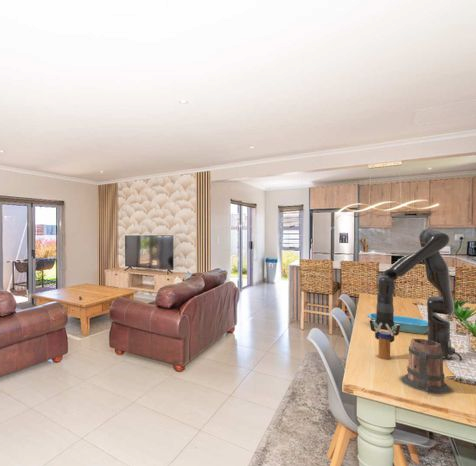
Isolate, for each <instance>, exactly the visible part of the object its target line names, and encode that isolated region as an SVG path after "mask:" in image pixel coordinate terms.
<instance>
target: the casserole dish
mask: <svg viewBox="0 0 476 466" xmlns="http://www.w3.org/2000/svg"><path fill="white" fill-rule="evenodd" d="M376 313H377V312H371V313H367V314H366V317H368V318H370V320H376ZM393 321H394V323H395V324H400V325H401V327H400V331H399V332H403V333H409V334H419V335H424V334H427V333H428V319H424V318H417V317H412V316H411V317H409V316H402V315H395V314H394V318H393ZM374 327H376V328H377V327H378V325H377V323H376V322H375V324H374ZM392 329H393V331H396V328H395V326H393V327H392ZM389 330H390V329H389Z"/></svg>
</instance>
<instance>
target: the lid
mask: <svg viewBox="0 0 476 466" xmlns="http://www.w3.org/2000/svg"><path fill="white" fill-rule="evenodd" d="M378 336H379V337H381V338H385V339H390V336H391V334H390V332H389V331H383V330H382V331H380V330H379V332H378Z"/></svg>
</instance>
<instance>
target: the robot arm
mask: <svg viewBox="0 0 476 466" xmlns="http://www.w3.org/2000/svg"><path fill="white" fill-rule="evenodd" d="M418 240H419V244H420V248H419V249H418V250H416V251H414V252H412V253H409V254H407V255H405V256H403V257H401V258H400V259H398V260H397V261H396V262H394V263H393V264H392V265H391V266H390V267H388V268H387V269H386V270H384V271H383V272H382V273H380V274H379V275H377V277H376V280H375V281H376V284H377V285H378V292H377V294H376V312H375V313H376V320H371V319H370V320H369V326H370V330H371V332H374V337H375V339H376V340H379V336H378V332H379V331H380V330H381V329H383V330H387V332H389V333H390V334H391V336H390V343H393V342H395V337H397V336H399V334H400V332H401V331H400V327H401V325H400V324H395V323H394V321H393V318H394V315H395V314H394V313H395V309H394V308H395V307H394V293H395V292H394V291H395V286H396V285H395V282H396V280H397V279H399V278H402V277H404V276H405V275H406V274H408V272H410V271H411V270H412V269H413V268H414V267H416V266H417V265H418V264H421V263H422V262H424V267H425V276H426V280H427V281H428V282H429V283H430V284H431V285H432V286H433V287H434V288H435V289H436V290H437V291H438V292H439V293H440V295H441V296H436V295H435V296H434V295H430V296H428V298H427V300H426V310H427V311H426V312H427V321H428V331H427V340H431V341H434V342H437V343H440V344H441V349H442V352H443V359H446V360H449V359H450V358H451V357H452V356H454V355H456V356H458V358H459V361H460V362H463V357H462V356H461V354H459V353H457V352H456V348H454V347H452V340H451V322H450V321H449V320H447V319H445V318H443V317H441V316H439V315H445V316H451V315H453V314H454V312H455V301H454V299H453V298H454V297H453V293H452V289H451V280H450V277H451V276H450V269H449V266H448V264H447V262H446V260H445V259H444V257H443V255H442V254H441V252H440V251H441V250H442V249H444V248H445V247H447V245H449V243H450V236H449V234H447V233H445V232H443V231H440V230H438V229H435V228H430V227H429V228H424V229H423V230H421V232H420V233H419V235H418ZM438 314H439V315H438ZM375 322H376V323H377V325H378V327H376V326H374V324H375ZM393 326H395V328H396V330H395V331H394V330H393V329H392V327H393ZM375 327H376V328H375ZM389 329H390V330H389Z"/></svg>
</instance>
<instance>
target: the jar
mask: <svg viewBox="0 0 476 466" xmlns="http://www.w3.org/2000/svg"><path fill="white" fill-rule="evenodd" d="M378 358H380V359H382V360H390V359H391V342H390V339H385V338H381V337H379V339H378Z"/></svg>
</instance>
